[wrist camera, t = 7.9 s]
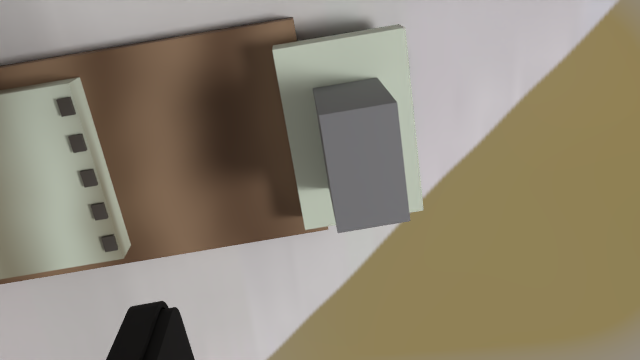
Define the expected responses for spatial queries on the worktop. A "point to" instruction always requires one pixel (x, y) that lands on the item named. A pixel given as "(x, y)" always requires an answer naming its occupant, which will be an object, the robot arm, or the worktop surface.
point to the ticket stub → (351, 127)
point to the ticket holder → (145, 152)
